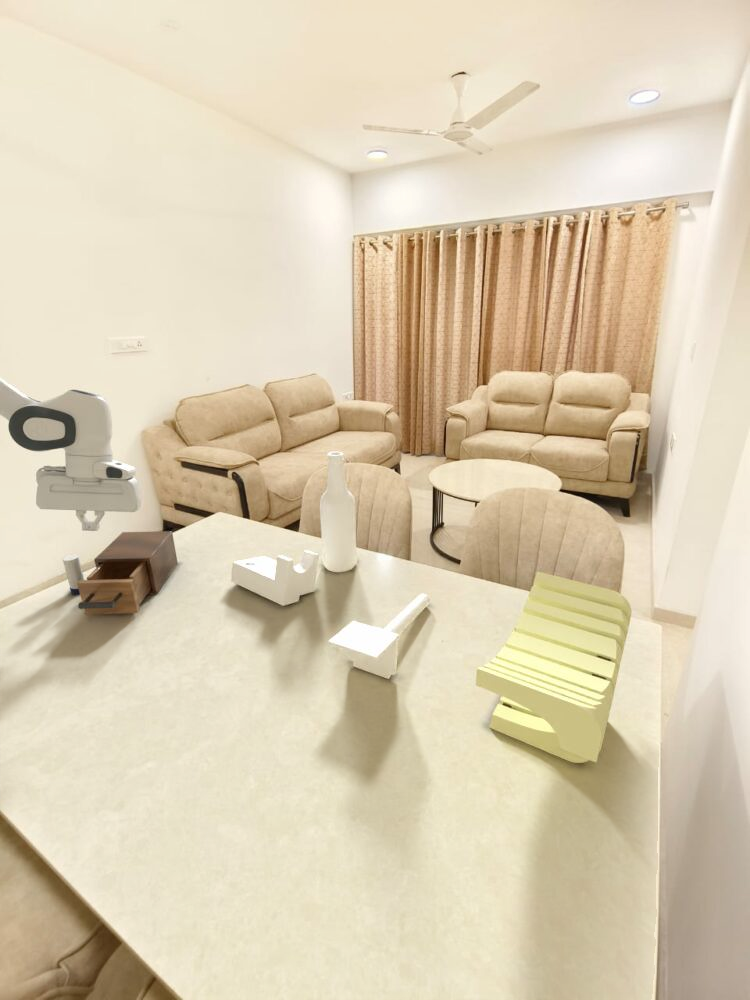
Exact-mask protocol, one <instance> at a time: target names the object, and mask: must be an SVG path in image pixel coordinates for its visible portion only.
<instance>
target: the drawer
mask: <svg viewBox="0 0 750 1000" xmlns="http://www.w3.org/2000/svg"><path fill="white" fill-rule="evenodd" d="M77 585H78V589H79V593H80V594H79V596H80V600H81V601H80V602H79V603H78V605H77V608H78V609H79V610H83V612H84V614H85V615H98V614H99V615H101V614H138V613H139V612H140V609H141V608H140V605H141V603H142V602H143V600H145V598H146V597H147V595H149V594H148V592H149V591H150V590H151V588H152V584H151V579H150V575H149V570H148V565H147V561H132V562H102V563H101V564H100V565H99V566H98V567H97V568H96V567H95V569H94V570H93V571H91V572H90V574H89V575H88V576H87V577H86V579H84V580H80V581H79V582H77Z"/></svg>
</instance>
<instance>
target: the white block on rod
mask: <svg viewBox="0 0 750 1000" xmlns="http://www.w3.org/2000/svg"><path fill="white" fill-rule="evenodd" d="M430 604H431V598H430V596H429V595H427V594H426V593H420V594H419V595H418V596H417V597H416V598H415V599H414V600H412V601H411V602H410V603H409V604H408V605H407V606H406V607H405V608H404V609H403V610H402V611H401V612H400V613H398V615H396V617H394V619H392V620H391V621H390V622H389V623H388V624H387V625H386V626H385V627H384V628H382V627H378V626H372V625H369V624H366V623H363V622H359V621H357V620H352V621H351V622H350V623H348V624H347V625H346V626H345V627H344V628H342V629H341V630H340V631H338V632H337V634H335V635H333V637H331V638H330V639H329V640H328V641H327V642H328V643H327V644H328V645H331V646H334V647H336V648H340V649H342V650H346V651H348V652H349V654H348V660H349V661H352V666H353V667H354V668H357V669H359V670H361V671H365V672H367V673H370V674H373V675H376V676H378V677H381V678H385V679H388V680H390V678H391V677H392V676H395V675H396V674H397V670H398V669H397V667H398V652H399V638H400V637H399V636H400V634H401V633H403V631H404V630H406V628H407V627H408V626H410V624H411V623H412V622H413V621H415V619H416V618H417V617H418V616H419V615H420V614H421V613H422V612H423V611H424V610H425V609H426V608H427V607H428V606H429V605H430Z"/></svg>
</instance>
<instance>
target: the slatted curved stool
mask: <svg viewBox="0 0 750 1000" xmlns="http://www.w3.org/2000/svg"><path fill="white" fill-rule="evenodd" d="M522 609H523V610H522V611H521V613H520V615H519V617H518V620H517V621H516V624H515V626H514V630H512V631H511V634H509V637H508V639H507V640H506V642H505V645H503V646H502V647H501V649H500V650H499V651H498V653H496V655H495V657H493V658H492V659H491V660H489V662H486V663H485V664H483V666H479V667H477V668H476V674H475V675H476V676H475V686H476V687H479V688H482V689H484V690H487V691H489V692H492V693H494V694H496V695H499V696H501V697H500V699H499V703H497V705H496V706H495V708H494V710H493V712H492V715H491V719H490V723H489V727H488V728H490V729H492V730H494V731H496V732H498V733H501V734H503V735H506V736H509V737H511V738H513V739H515V740H517V741H519V742H523V743H525V744H527V745H530V746H531V747H534V748H537V749H539V750H542V751H544V752H546V753H548V754H551V755H553V756H556V757H558V758H560V759H563V760H565V761H567V762H570V763H574V764H581V763H582V764H583V763H587V762H589V761H591V762H594V763H596V764H597V763H598V758H599V754H600V752H601V750H602V746H603V742H604V738H605V734H606V730H607V725H608V721H609V717H610V712H611V709H612V706H613V705H612V704H613V700H614V695H615V691H616V685H617V681H618V676H619V671H620V668H621V667H620V666H621V662H622V658H623V654H624V649H625V646H626V641H627V637H628V632H629V629H630V628H629V627H630V622H631V618H632V606H631V605H630V602H629V601H628V599H627V598H626V597H625V596H624V595H622V594H621V593H620V592H618V591H616V590H612V589H609V588H606V587H601V586H599V585H594V584H590V583H585V582H581V581H577V580H573V579H570V578H565V577H562V576H557V575H553V574H549V573H545V572H541V571H537V572H536V574H535V577H534V580H533V585H531V588H530V591H529V593H528V599H526V601H525V604H524V605H523V608H522Z"/></svg>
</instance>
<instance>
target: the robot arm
mask: <svg viewBox="0 0 750 1000" xmlns="http://www.w3.org/2000/svg"><path fill="white" fill-rule="evenodd" d="M0 416H1V417H3V418H4V419H6V420H7V421H8V425H7V426H8V433H9V435H10V437H11V439H12V440H13V441H14V442H15V443H16V444H17V445H18V446H20V447H21V448H23V449H25V450H28V451H32V452H36V453H37V452H38V453H44V452H49V451H52V450H58V449H63V451H64V456H65V457H64V458H65V461H64V462H65V466H64V465H63V466H62V465H61V466H60V465H59V466H51V465H44V466H42V467H39V469H37V470H36V473H35V477H36V480H35V481H36V483H37V487H36V495H35V496H36V497H35V504H36V506H37V507H38V508H39V509H40V510H55V511H75V516H76V518H77V519H78V520H79V522H80V523H81V531H83V532H86V531H89V532H98V531H99V530H100V522H102V521H101V520H102V519H103V518H104V516H105V515H106V512H116V513H135V512H137V511H139V509H140V508H141V507H142V493H141V492H142V491H141V486H140V483H139V481H138V479H136V478H135V476H136V474H137V469H136V467H135V466H133V465H130V464H127V463H123V462H121V461H119V460H116V459H114V458H113V451H112V447H111V441H112V437H113V419H112V418H113V417H112V410H111V406H110V404H109V402H108V401H107V400H106V398H104V397H103V396H101V395H99V394H96V393H92V392H87V391H83V390H80V389H68V390H67V391H66V392H64V393H62V394H60V395H57V396H56V397H53V398H50V399H45V400H43V401H40V400H36V399H34V398H31V397H30V396H28V395H26V394H25V393H22V392H21V391H20V390H19V389H17V388H16V387H14V386H13V385H11V384H10V383H8V382H7V381H6V380H4V379H2V378H1V377H0ZM87 511H88V512H94V513H93V514H94V516H95V517H96V518H95V519H94V520H93V521H91V520H88V518H87V517H86V514H87Z"/></svg>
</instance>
